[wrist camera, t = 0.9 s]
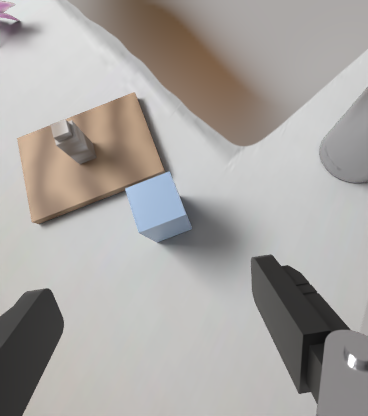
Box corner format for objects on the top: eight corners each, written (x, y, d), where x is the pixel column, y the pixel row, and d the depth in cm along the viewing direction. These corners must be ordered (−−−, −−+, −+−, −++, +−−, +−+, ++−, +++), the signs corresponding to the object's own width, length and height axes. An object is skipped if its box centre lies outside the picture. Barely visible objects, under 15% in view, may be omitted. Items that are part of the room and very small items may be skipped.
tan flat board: (137, 98, 42) (119, 56, 34) (166, 174, 37) (153, 147, 29) (23, 142, 42) (-22, 112, 34) (38, 224, 37) (-10, 210, 29)
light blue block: (179, 195, 36) (169, 171, 27) (192, 228, 34) (186, 214, 26) (145, 208, 36) (124, 188, 27) (157, 242, 35) (138, 232, 26)
